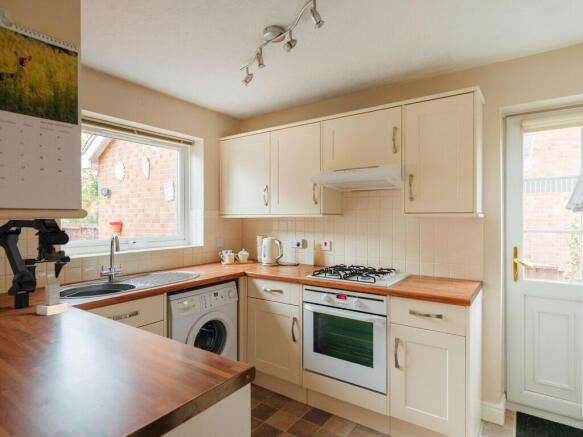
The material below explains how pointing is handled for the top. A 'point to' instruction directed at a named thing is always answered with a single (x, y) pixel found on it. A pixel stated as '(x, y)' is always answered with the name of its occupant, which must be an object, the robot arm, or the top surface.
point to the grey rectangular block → (52, 294)
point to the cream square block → (52, 309)
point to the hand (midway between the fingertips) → (45, 279)
